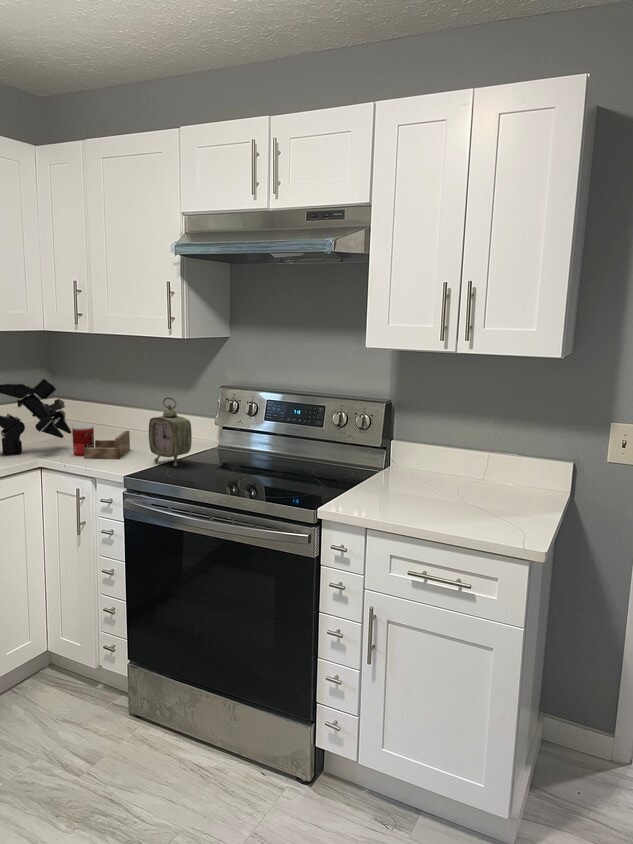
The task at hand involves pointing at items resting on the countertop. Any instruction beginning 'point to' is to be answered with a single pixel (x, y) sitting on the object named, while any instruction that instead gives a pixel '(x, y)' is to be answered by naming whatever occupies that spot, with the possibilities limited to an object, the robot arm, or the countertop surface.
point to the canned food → (82, 438)
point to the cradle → (109, 448)
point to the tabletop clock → (170, 434)
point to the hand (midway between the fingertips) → (66, 435)
